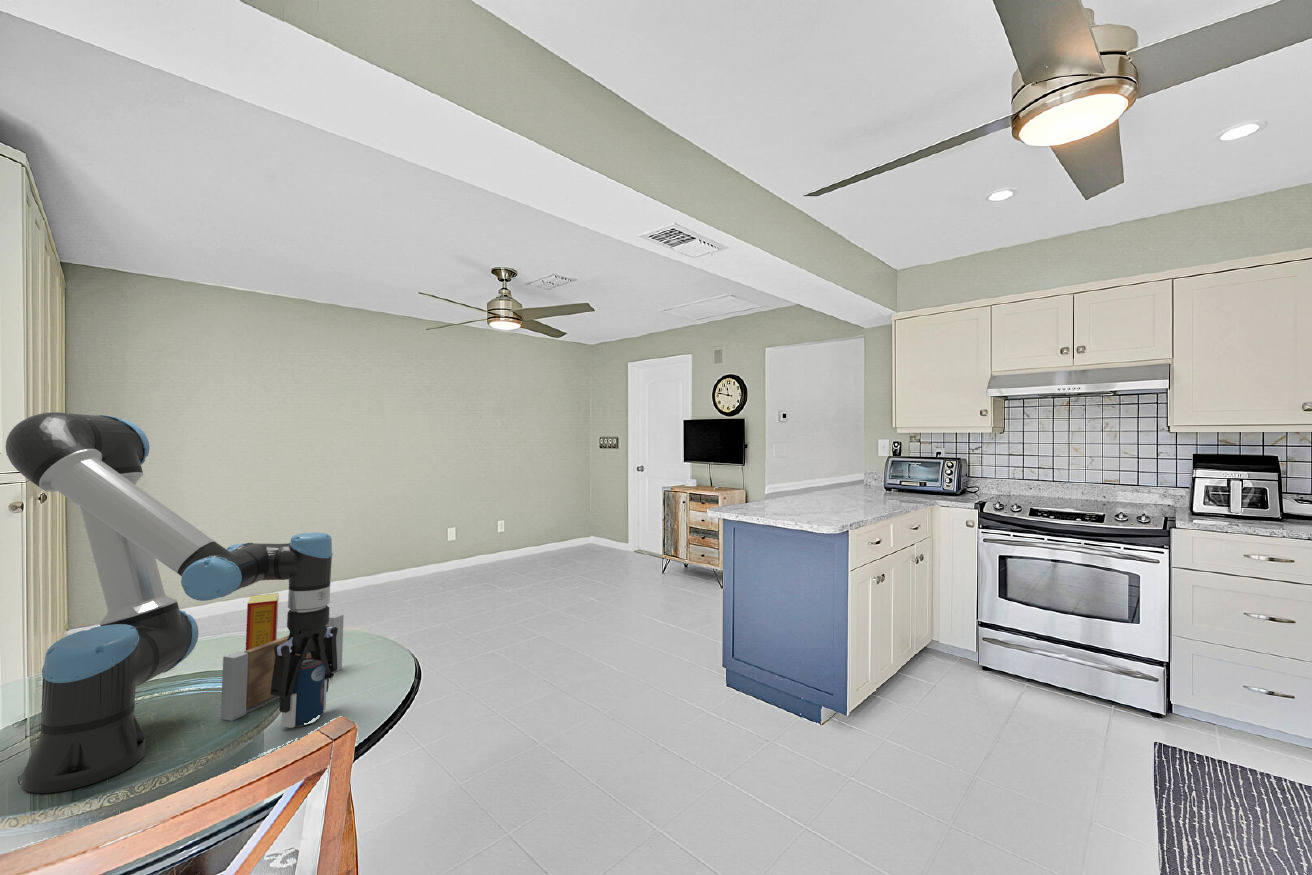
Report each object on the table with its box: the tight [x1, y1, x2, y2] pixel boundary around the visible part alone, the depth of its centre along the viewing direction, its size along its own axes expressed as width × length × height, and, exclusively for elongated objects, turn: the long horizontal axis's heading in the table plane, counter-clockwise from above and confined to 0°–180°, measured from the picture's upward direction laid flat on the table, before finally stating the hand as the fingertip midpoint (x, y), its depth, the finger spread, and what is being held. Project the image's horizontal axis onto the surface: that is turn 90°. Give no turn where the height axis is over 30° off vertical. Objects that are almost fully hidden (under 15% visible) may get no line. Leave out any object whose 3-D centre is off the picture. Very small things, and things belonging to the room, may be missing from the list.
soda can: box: [286, 658, 325, 728], centre depth 115 cm, size 7×7×12 cm
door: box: [243, 624, 328, 708], centre depth 130 cm, size 22×3×12 cm, turn 166°
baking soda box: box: [245, 592, 279, 651], centre depth 152 cm, size 10×6×16 cm
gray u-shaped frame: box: [220, 613, 345, 722], centre depth 129 cm, size 29×3×14 cm, turn 166°
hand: (304, 717), depth 115 cm, fingers closed on soda can, 7 cm apart
